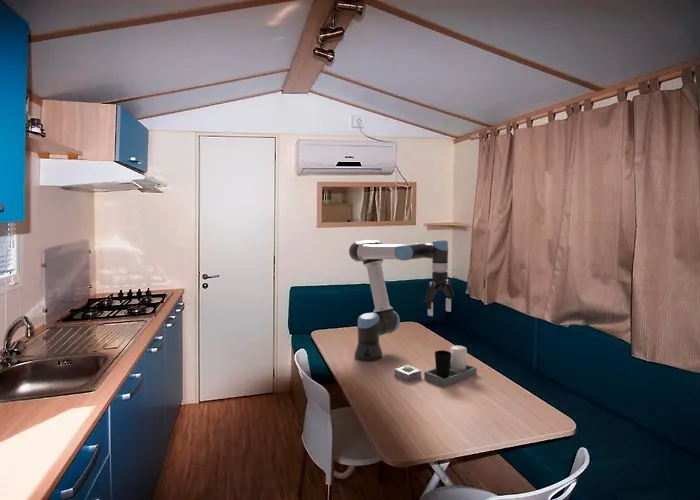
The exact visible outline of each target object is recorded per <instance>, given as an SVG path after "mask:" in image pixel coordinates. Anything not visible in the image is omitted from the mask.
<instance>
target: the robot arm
mask: <svg viewBox="0 0 700 500" xmlns="http://www.w3.org/2000/svg"><path fill="white" fill-rule="evenodd" d="M348 253H349V256H350V258H351V259H352V260H353V261H355V262H362V264H363V266H364V267H365V268H366V270H367V275H368V280H369V285H370V291H371V294H372V299H373V304H374V309H373V312H366V313H363V314H361V315H359V316H358V318H357V345H356V347H355V351H354V358H355V359H356V360H359V361H361V362H376V361H379V360H381V359H382V358H383V351H382V348H381V345H380V336H384V335H387V334H391V333H393V332H395V331H397V330H398V328H399V327H400V323H401V320H400V316H399V314H398V313H397V312H396V311H394V307H393V306H391V305H390V301H389V295H388V292H387V291H388V290H387V286H386V281H385V276H384V271H383V267H382V263H383V262H384V260H399V261H409V260H417V259H418V260H420V259H431V260H432V261H431V262H432V263H431V268H432V269H431V270H432V273H431V278H432V280H433V281H429V282H428V287H427V290H426V293H425V296H424V299H423V302H425V303H426V306H427V307H426V309H427V316H429V317H433V316H434V303H433V300H434V298H435V297H436V296H437V294H438V292H439V291H442V292H443V293H444V295H445V297H446V298H445V312H450V313H451V311H452V300H454V297H455V293H454V290H453V286H452V284H451V283H452V281H451V279H448V277H449V274H448V270H449V269H448V268H449V266H448V265H449V261H448V260H449V241H448V240H445V239H434V240H432V243H428V242H415V243H412V244H411V243H410V244H383V243H382V242H381V241H380V240H378V239H377V240H376V239H375V240H374V239H370V240H369V239H368V240H359V241H354V242H353V243H352V244H351V245H350V246H349V249H348Z"/></svg>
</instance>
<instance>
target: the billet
mask: <svg viewBox="0 0 700 500" xmlns="http://www.w3.org/2000/svg"><path fill="white" fill-rule="evenodd" d="M450 353H451V362H450V369H451V370H454V371H457V372H460V373H461V372H464V371H466V364H467V363H468V362H467V359H468V358H467V355H468V350H467V347H465V346H463V345H452V346H450Z"/></svg>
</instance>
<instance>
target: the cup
mask: <svg viewBox="0 0 700 500" xmlns="http://www.w3.org/2000/svg"><path fill="white" fill-rule="evenodd" d="M434 360H435V362H434V363H435V368H436V374H437V376H439V377H441V378H444V379H445V378H448V377H449V371H450V362H451V351H448V350H436V351H435V352H434Z"/></svg>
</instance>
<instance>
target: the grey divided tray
mask: <svg viewBox="0 0 700 500" xmlns="http://www.w3.org/2000/svg"><path fill="white" fill-rule="evenodd" d="M477 368H478V367H475V366H473V365H470V364H468V363H466V371H464V372H461V373H460V372H457V371H454V370H451V369H450V371H449V377H448V378H445V379H444V378H441V377H439V376H437V374H436V367H434V368H432V369H429V370H425V371H424V374H423V375H424V378H423V379H424V380H427V381H429V382H431V383H433V384H435V385H438V386H441V387H442V388H447V387H450V386H451V385H454V384H456V383H460V382H462V381H464V380H467V379H469V378H471V377H474V376H477V371H478V369H477Z"/></svg>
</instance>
